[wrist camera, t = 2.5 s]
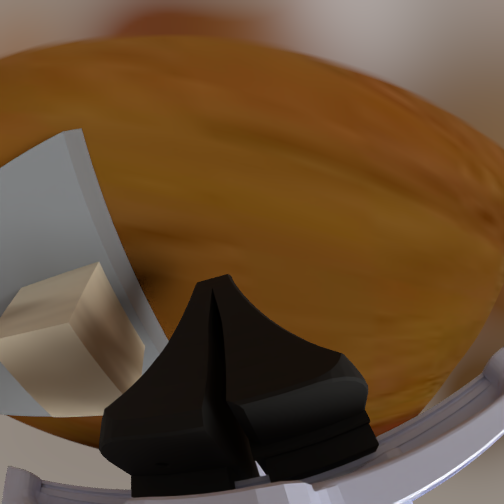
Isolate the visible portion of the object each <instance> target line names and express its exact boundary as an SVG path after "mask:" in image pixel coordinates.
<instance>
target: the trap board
mask: <svg viewBox="0 0 504 504" xmlns="http://www.w3.org/2000/svg"><path fill="white" fill-rule="evenodd" d="M96 262H100V264H101V267H102V269H103V271H104V273H105V275H106V277H107V279H108V281H109V283H110V285H111V287H112V289H113V291H114V292H115V294H116V296H117V298H118V300H119V302H120V304H121V306H122V307H123V309H124V311H125V313H126V315H127V316H128V318H129V320H130V322H131V323H132V325H133V327H134V329H135V330H136V332H137V334H138V335H139V337H140V339H141V340H142V342H143V344H144V345H145V350H144V358H143V367H142V375H143V374H144V373H145V372H146V371H147V369H148V368H149V367H150V366H151V364H152V363H153V362H154V361H155V360H156V358H157V357H158V356H159V355H160V353H161V352H162V351H163V349H164V348H165V346H166V345H167V343H168V342H169V341H168V339H167V338H166V336H165V334H164V332H163V330H162V328H161V326H160V325H159V323H158V321H157V319H156V317H155V315H154V313H153V311H152V309H151V307H150V305H149V303H148V301H147V299H146V297H145V295H144V293H143V291H142V289H141V287H140V285H139V282H138V280H137V278H136V276H135V274H134V272H133V269H132V267H131V265H130V263H129V260H128V258H127V256H126V254H125V251H124V249H123V247H122V244H121V242H120V239H119V237H118V235H117V232H116V230H115V227H114V225H113V222H112V219H111V217H110V214H109V212H108V209H107V206H106V204H105V201H104V198H103V195H102V193H101V190H100V187H99V184H98V181H97V178H96V175H95V172H94V169H93V166H92V163H91V160H90V156H89V153H88V150H87V146H86V143H85V139H84V136H83V132H82V129H75V130H69V131H64V132H61V133H59V134H57V135H55V136H54V137H52V138H50V139H48V140H46V141H44V142H42V143H41V144H39V145H37V146H35V147H34V148H32V149H30V150H28V151H27V152H25V153H23V154H22V155H20V156H18V157H17V158H15V159H14V160H12V161H10V162H9V163H7V164H6V165H4V166H3V167H1V168H0V317H1V316H2V314H3V313H4V311H5V310H6V308H7V307H8V306H9V304H10V303H11V301H12V300H13V298H14V297H15V296H16V294H17V293H18V292H19V290H20V289H21V288H22V287H25V286H28V285H31V284H34V283H36V282H39V281H42V280H45V279H48V278H51V277H54V276H57V275H60V274H63V273H65V272H68V271H71V270H74V269H77V268H80V267H84V266H87V265H90V264H93V263H96ZM0 414H4V415H18V416H51V415H50V414H49V413H48V412H47V411H46V410H45V409H44V408H43V407H42V406H41V405H40V404H38V403H37V402H36V401H35V400H34V399H33V397H32V396H31V395H30V394H29V393H28V392H27V391H26V390H25V389H24V388H23V387H22V386H21V385H20V384H19V383H18V382H17V380H16V379H15V378H14V377H13V376H12V375H11V374H10V372H9V371H8V370H7V369H6V368H5V366H4V365H3V364H2V363H1V362H0Z"/></svg>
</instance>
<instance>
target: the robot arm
mask: <svg viewBox="0 0 504 504" xmlns="http://www.w3.org/2000/svg"><path fill="white" fill-rule="evenodd" d="M367 395H368V385H367V383H366V381H365V379H364V378H363V376H362V375H361V374H360V372H359V371H358V370H357V368H356V367H355V366H354V365H353V364H352V363H351V362H350V361H349V360H348V358H347V357H346V356H345V355H344V354H342V353H339V352H336V351H332V350H329V349H326V348H323V347H320V346H317V345H315V344H313V343H310V342H308V341H306V340H304V339H302V338H300V337H298V336H296V335H294V334H292V333H290V332H288V331H287V330H285V329H283V328H282V327H280V326H279V325H277V324H276V323H274V322H273V321H272V320H270V319H269V318H268V317H266V316H265V315H264V314H263V313H261V312H260V311H259V310H258V309H257V308H256V307H255V306H254V305H253V304H252V303H251V302H250V301H249V300H248V299H247V298H246V297H245V296H244V295H243V294H242V293H241V291H240V290H239V289H238V287H237V286H236V285H235V283H234V281H233V280H232V277H231V276H230V275H228V274H226V275H223V276H219V277H215V278H212V279H208V280H205V281H201V282H197V284H196V286H195V288H194V291H193V293H192V296H191V298H190V301H189V303H188V305H187V308H186V310H185V312H184V314H183V316H182V318H181V320H180V322H179V324H178V326H177V328H176V330H175V332H174V333H173V335H172V337H171V338H170V340H169V342H168V343H167V345H166V346H165V348H164V349H163V351H162V352H161V353H160V355H159V356H158V357H157V358H156V360H155V361H154V362H153V363H152V364H151V366H150V367H149V368H148V369H147V371H146V372H145V373H144V374H143V375H142V376H141V377H140V378H139V379H138V380H137V381H136V382H135V383H134V384H133V385H132V386H131V387H130V388H129V389H128V390H127V391H126V392H125V393H123V394H122V395H121V396H120V397H119V398H117V399H116V400H115V401H114V402H112V403H111V404H110V405H109V406H107V407H106V408H105V409H104V413H103V418H102V424H101V432H100V441H99V450H100V452H101V454H102V455H103V456H104V457H105V458H106V459H107V460H108V461H110V462H111V463H113V464H114V465H116V466H117V467H119V468H120V469H122V470H123V471H125V472H126V473H128V474H130V475H131V490H119V489H102V488H91V487H82V486H74V485H67V484H61V483H55V482H50V481H45V480H41V479H40V478H39V477H37V476H36V475H34V474H33V473H31V472H29V471H26V470H24V469H20V468H15V467H12V466H8V468H7V473H6V479H5V485H4V491H3V498H2V504H413V502H412V501H413V500H415V499H417V498H419V497H420V496H422V495H424V494H426V493H427V492H429V491H430V490H432V489H434V488H435V487H437V486H438V485H440V484H441V483H443V482H444V481H446V480H447V479H449V478H450V477H452V476H453V475H454V474H456V473H457V472H459V471H460V470H461V469H463V468H464V467H465V466H467V465H468V464H469V463H471V462H472V461H473V460H474V459H476V458H477V457H478V456H479V455H481V454H482V453H483V452H484V451H485V450H487V449H488V448H489V447H490V446H491V445H492V444H494V443H495V442H496V441H497V440H498V439H499V438H500V437H501V436H502V435H503V434H504V346H503V347H502V348H501V349H500V350H499V351H497V352H496V353H495V354H494V355H493V356H492V357H491V358H490V359H489V361H488V362H487V364H486V365H485V367H484V369H483V372H482V373H481V374H480V375H479V376H477V377H476V378H475V379H473V380H472V381H471V382H469V383H468V384H466V385H465V386H464V387H462V388H461V389H459V390H458V391H456V392H455V393H454V394H452V395H451V396H449V397H448V398H446V399H445V400H443V401H441V402H440V403H438V404H437V405H435V406H433V407H432V408H430V409H428V410H427V411H425V412H423V413H422V414H420V415H418V416H416V417H415V418H413V419H411V420H409V421H407V422H405V423H404V424H402V425H400V426H398V427H396V428H394V429H392V430H390V431H388V432H386V433H384V434H382V435H380V436H377V437H375V435H374V433H373V431H372V429H371V427H370V425H369V423H370V419H369V417H368V415H367V413H366V411H365V405H366V400H367Z"/></svg>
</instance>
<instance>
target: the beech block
mask: <svg viewBox="0 0 504 504" xmlns="http://www.w3.org/2000/svg"><path fill="white" fill-rule="evenodd" d="M144 350H145V345H144V344H143V342H142V340H141V339H140V337H139V335H138V334H137V332H136V330H135V329H134V327H133V325H132V323H131V322H130V320H129V318H128V316H127V315H126V313H125V311H124V309H123V307H122V306H121V304H120V302H119V300H118V298H117V296H116V294H115V292H114V291H113V289H112V287H111V285H110V283H109V281H108V279H107V277H106V275H105V273H104V271H103V269H102V267H101V264H100V262H96V263H93V264H90V265H87V266H84V267H80V268H77V269H74V270H71V271H68V272H65V273H63V274H60V275H57V276H54V277H51V278H48V279H45V280H42V281H39V282H36V283H34V284H31V285H28V286H25V287H22V288H21V289H20V290H19V292H18V293H17V294H16V296H15V297H14V298H13V300H12V301H11V303H10V304H9V306H8V307H7V308H6V310H5V311H4V313H3V314H2V316H1V317H0V362H1V363H2V364H3V365H4V366H5V368H6V369H7V370H8V371H9V372H10V374H11V375H12V376H13V377H14V378H15V379H16V380H17V382H18V383H19V384H20V385H21V386H22V387H23V388H24V389H25V390H26V391H27V392H28V393H29V394H30V395H31V396H32V397H33V399H34V400H35V401H36V402H37V403H38V404H40V405H41V406H42V407H43V408H44V409H45V410H46V411H47V412H48V413H49V414H50V415H51V416H52V417H81V416H99V415H103V413H104V409H105V408H106V407H107V406H109V405H110V404H111V403H112V402H114V401H115V400H116V399H117V398H119V397H120V396H121V395H122V394H123V393H125V392H126V391H127V390H128V389H129V388H130V387H131V386H132V385H133V384H134V383H135V382H136V381H137V380H138V379H139V378H140V377H141V376H142V367H143V358H144Z"/></svg>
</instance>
